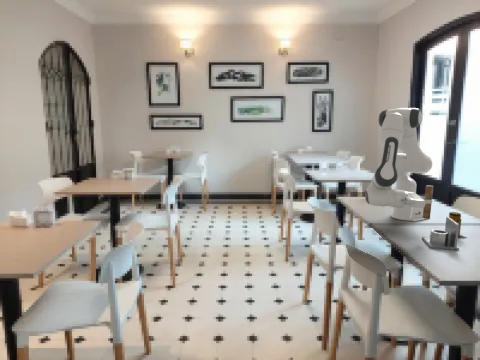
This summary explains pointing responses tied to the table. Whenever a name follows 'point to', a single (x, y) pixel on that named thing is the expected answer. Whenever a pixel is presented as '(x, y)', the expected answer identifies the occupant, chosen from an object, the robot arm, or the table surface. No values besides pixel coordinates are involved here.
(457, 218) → the condiment
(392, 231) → the table surface
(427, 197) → the wooden cylinder rod
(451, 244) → the cup bracket
